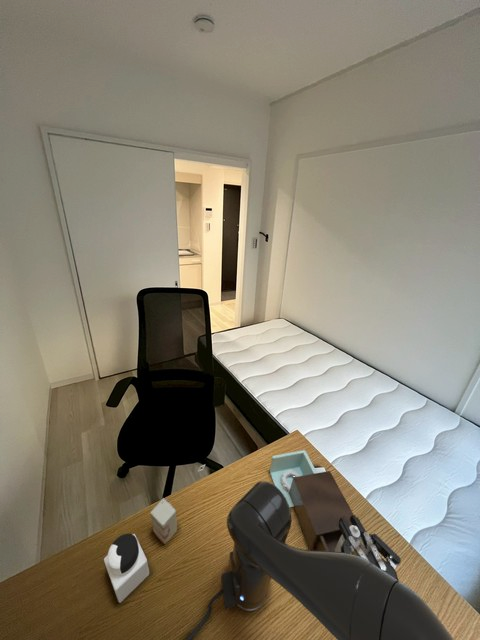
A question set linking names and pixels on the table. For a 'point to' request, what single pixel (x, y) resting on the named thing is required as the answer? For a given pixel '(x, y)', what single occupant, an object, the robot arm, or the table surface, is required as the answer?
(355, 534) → the eye dropper bottle
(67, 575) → the table surface
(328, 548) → the drawer
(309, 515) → the cabinet
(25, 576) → the table surface
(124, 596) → the white block with dome
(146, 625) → the table surface
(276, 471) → the teal open bin
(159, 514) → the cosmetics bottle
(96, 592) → the table surface
